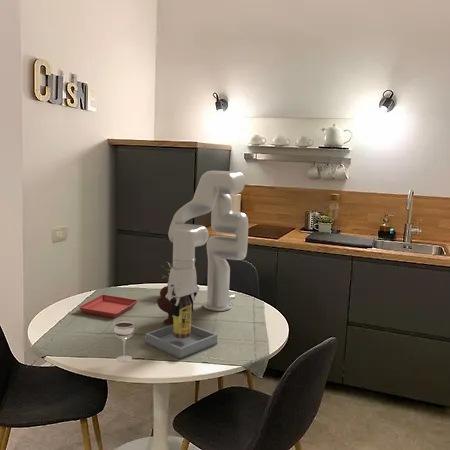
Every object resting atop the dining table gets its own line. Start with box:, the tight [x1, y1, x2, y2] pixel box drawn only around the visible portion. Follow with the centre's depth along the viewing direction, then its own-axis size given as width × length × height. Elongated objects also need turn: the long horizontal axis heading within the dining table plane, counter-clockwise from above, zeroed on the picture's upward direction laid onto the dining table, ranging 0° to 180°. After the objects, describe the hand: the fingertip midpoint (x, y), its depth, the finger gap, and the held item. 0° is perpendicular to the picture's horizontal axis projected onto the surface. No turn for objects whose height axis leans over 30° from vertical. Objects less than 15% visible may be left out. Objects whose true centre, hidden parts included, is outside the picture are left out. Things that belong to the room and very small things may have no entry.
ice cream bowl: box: [156, 285, 173, 326], centre depth 191 cm, size 11×11×15 cm
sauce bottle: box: [172, 295, 192, 339], centre depth 171 cm, size 7×6×20 cm
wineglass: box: [113, 319, 136, 363], centre depth 158 cm, size 7×7×12 cm
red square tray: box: [78, 294, 139, 319], centre depth 204 cm, size 18×18×3 cm
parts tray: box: [144, 324, 218, 360], centre depth 173 cm, size 18×18×4 cm
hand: (182, 312), depth 171 cm, fingers closed on sauce bottle, 6 cm apart
